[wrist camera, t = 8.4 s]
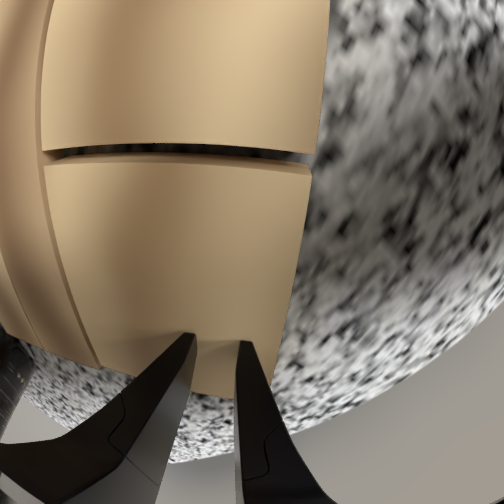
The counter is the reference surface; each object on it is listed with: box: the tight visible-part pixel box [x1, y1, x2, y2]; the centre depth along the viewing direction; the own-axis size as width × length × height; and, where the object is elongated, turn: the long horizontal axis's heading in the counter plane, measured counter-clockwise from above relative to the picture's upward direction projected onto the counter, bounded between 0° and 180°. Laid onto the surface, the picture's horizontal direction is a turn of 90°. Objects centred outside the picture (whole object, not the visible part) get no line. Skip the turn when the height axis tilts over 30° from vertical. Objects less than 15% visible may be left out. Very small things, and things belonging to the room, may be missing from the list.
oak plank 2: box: [44, 152, 312, 399], centre depth 9 cm, size 8×10×2 cm
